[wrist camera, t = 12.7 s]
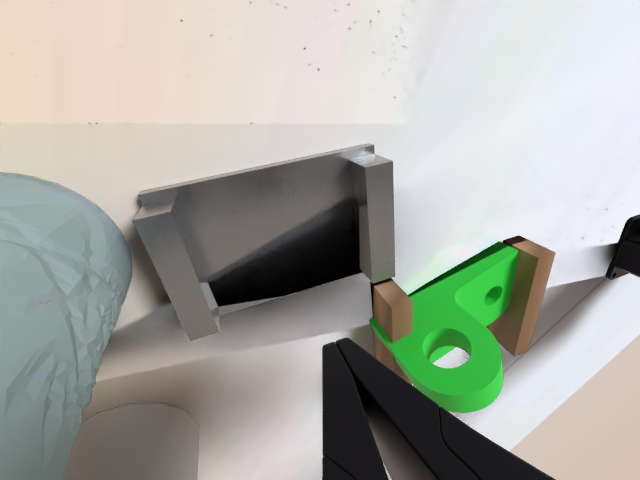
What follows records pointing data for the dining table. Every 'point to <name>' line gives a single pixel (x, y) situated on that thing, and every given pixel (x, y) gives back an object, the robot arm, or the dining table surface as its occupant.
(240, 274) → the u-shaped bracket
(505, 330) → the beam rails
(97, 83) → the dining table surface
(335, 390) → the robot arm
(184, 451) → the cup
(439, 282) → the mechanical part
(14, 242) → the teal tapered tumbler
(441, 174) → the dining table surface
